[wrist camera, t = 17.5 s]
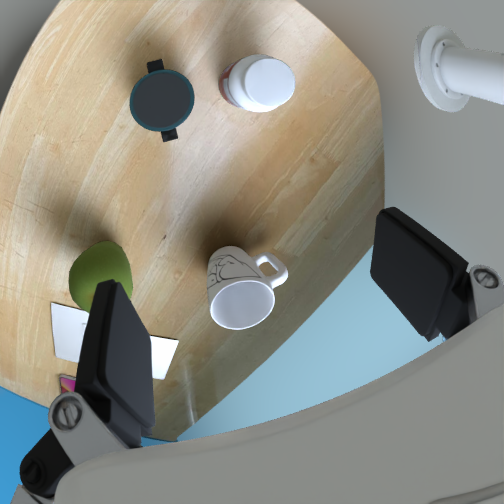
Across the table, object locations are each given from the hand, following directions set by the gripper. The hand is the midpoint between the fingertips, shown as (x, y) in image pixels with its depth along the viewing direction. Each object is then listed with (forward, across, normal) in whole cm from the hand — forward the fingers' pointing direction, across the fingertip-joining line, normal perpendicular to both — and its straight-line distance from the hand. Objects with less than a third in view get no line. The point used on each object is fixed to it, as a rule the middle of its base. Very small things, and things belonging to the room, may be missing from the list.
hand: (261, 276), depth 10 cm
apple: (+28, +16, +12) cm, 35 cm away
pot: (+28, +3, -6) cm, 29 cm away
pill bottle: (+28, -7, -6) cm, 30 cm away
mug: (+28, -2, +19) cm, 34 cm away
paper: (+28, +25, +31) cm, 49 cm away
